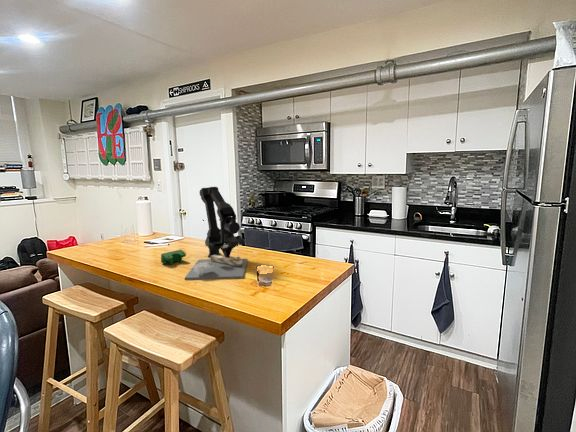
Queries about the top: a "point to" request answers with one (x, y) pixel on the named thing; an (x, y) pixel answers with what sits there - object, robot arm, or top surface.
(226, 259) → the link
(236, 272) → the board
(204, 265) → the block
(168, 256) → the clamp
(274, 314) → the top surface
